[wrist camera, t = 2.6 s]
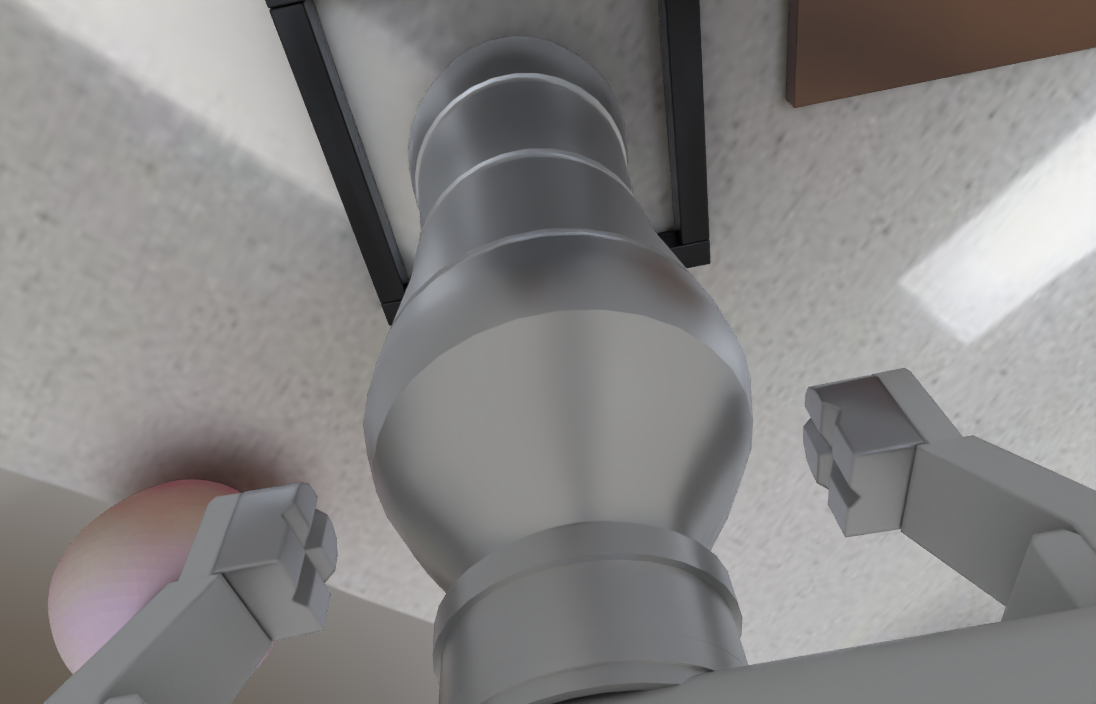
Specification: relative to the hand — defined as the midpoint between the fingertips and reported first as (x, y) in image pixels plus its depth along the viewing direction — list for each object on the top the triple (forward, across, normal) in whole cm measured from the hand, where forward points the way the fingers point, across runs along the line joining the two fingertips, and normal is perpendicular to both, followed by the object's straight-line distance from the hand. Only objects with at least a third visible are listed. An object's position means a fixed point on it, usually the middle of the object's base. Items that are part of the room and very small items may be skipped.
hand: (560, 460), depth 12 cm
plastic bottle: (+15, 0, 0) cm, 15 cm away
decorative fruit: (+15, +17, +14) cm, 27 cm away
